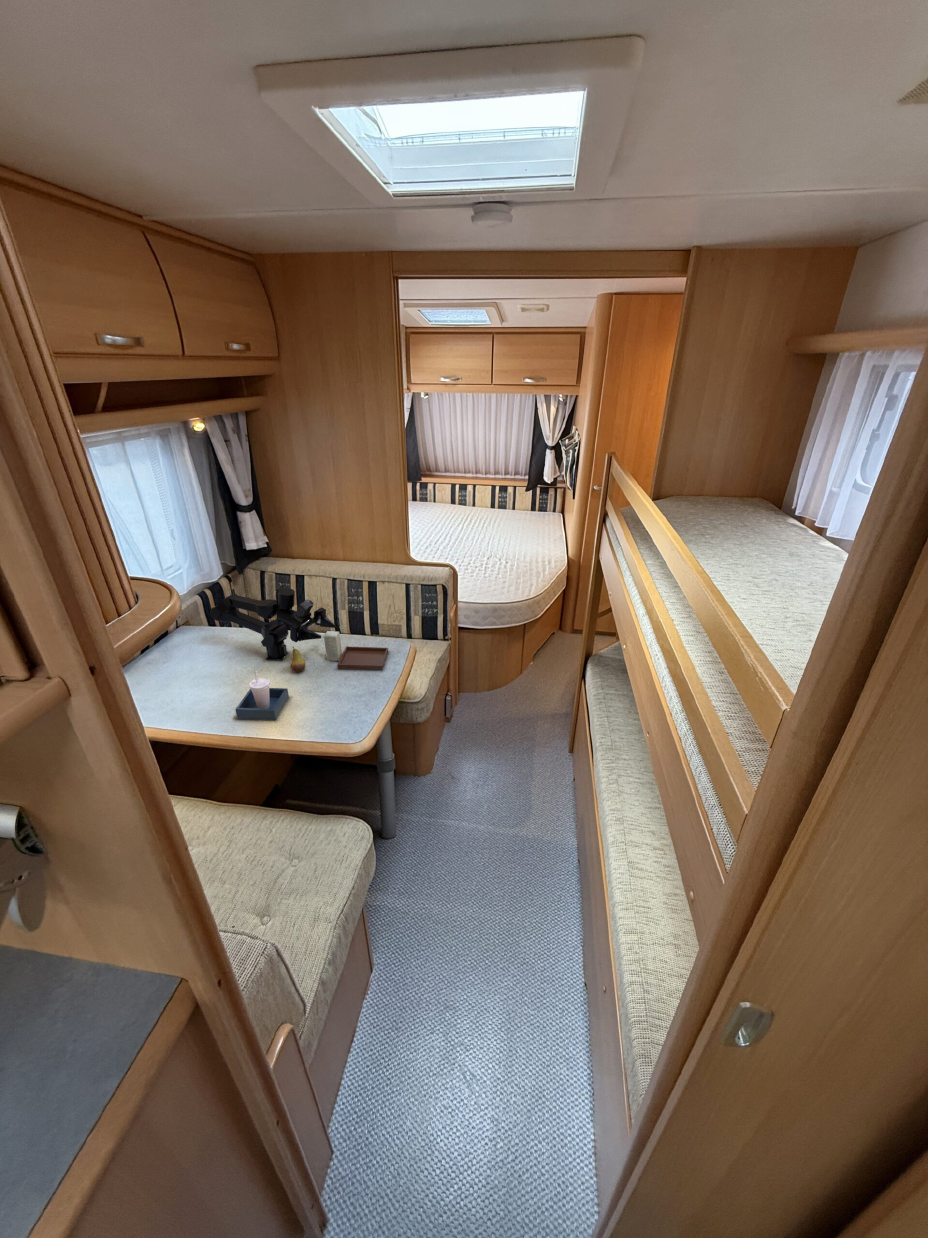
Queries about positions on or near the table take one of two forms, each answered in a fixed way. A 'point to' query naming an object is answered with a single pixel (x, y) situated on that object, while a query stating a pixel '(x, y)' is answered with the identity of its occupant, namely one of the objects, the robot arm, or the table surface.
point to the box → (333, 645)
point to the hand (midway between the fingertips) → (328, 631)
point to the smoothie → (260, 691)
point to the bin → (251, 711)
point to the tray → (363, 658)
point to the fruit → (297, 661)
